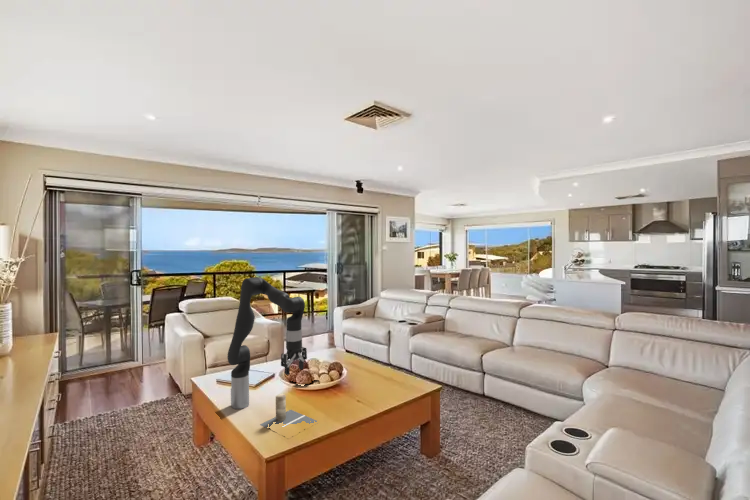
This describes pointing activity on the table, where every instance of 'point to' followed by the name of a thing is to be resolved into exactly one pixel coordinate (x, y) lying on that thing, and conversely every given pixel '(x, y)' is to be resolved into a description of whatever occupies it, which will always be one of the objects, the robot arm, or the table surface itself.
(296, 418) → the mat
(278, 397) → the birch cylinder
